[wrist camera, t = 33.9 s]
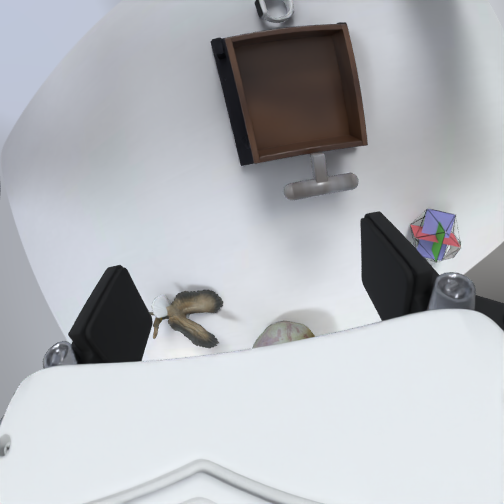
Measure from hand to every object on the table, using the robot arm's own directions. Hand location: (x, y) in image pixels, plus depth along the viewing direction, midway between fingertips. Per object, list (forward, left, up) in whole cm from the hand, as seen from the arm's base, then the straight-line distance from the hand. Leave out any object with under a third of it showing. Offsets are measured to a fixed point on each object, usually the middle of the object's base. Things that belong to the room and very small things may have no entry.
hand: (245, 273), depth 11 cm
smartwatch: (-18, +6, -21) cm, 28 cm away
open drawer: (-4, +6, -19) cm, 20 cm away
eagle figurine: (+18, -12, -22) cm, 31 cm away
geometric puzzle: (+13, +22, -22) cm, 34 cm away
